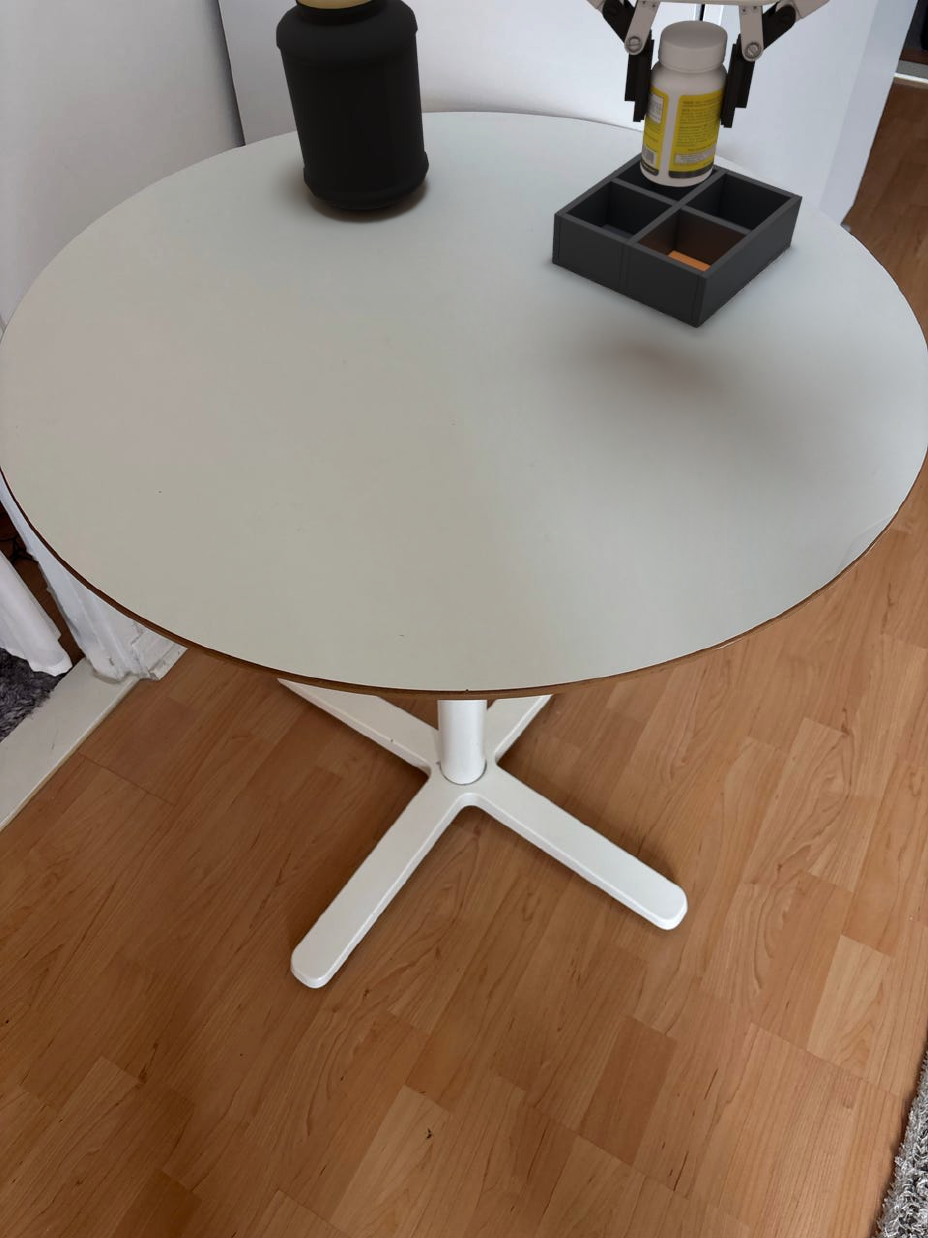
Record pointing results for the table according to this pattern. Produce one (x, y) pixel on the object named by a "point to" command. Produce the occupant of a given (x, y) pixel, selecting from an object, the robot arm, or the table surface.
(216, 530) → the table surface
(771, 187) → the box
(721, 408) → the table surface
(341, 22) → the container
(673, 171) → the supplement bottle
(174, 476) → the table surface
